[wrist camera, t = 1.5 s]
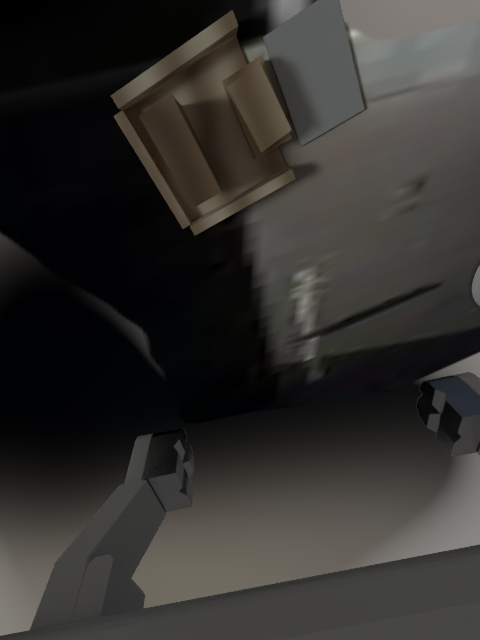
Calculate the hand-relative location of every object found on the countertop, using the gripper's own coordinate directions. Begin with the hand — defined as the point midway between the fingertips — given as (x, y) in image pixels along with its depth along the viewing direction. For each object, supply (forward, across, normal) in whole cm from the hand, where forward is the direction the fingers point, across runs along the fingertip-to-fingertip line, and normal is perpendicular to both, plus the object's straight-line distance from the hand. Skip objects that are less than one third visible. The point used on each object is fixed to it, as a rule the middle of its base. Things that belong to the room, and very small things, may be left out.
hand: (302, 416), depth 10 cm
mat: (+34, -12, -13) cm, 39 cm away
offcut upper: (+32, -5, -11) cm, 34 cm away
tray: (+35, +1, -9) cm, 36 cm away
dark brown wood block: (+34, +4, -8) cm, 36 cm away
